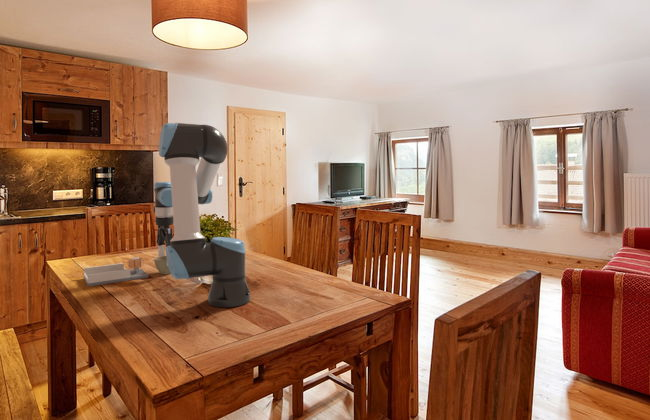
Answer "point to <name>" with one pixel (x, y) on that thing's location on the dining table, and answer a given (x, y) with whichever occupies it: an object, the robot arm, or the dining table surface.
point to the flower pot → (162, 265)
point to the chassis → (111, 274)
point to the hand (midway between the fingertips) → (165, 262)
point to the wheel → (136, 262)
